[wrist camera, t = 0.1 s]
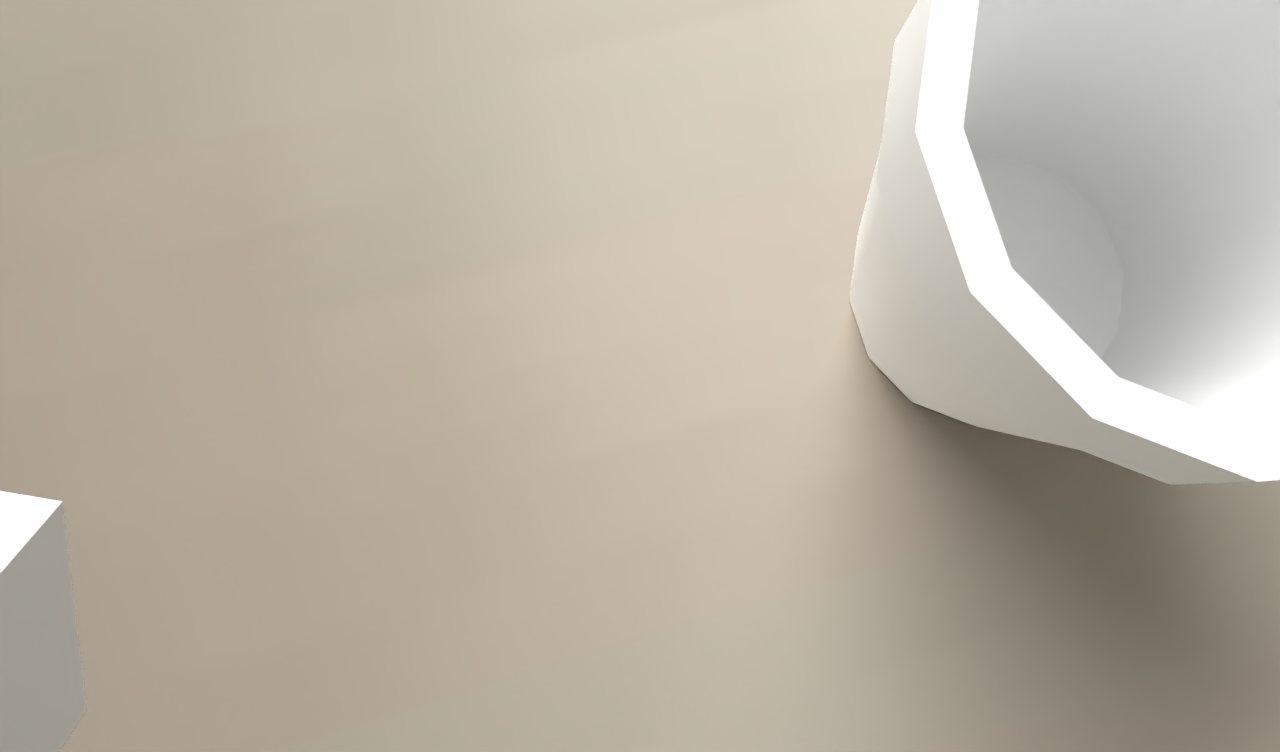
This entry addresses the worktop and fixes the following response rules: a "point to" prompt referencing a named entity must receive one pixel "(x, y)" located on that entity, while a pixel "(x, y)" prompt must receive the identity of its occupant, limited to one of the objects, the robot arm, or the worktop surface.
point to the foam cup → (1085, 228)
